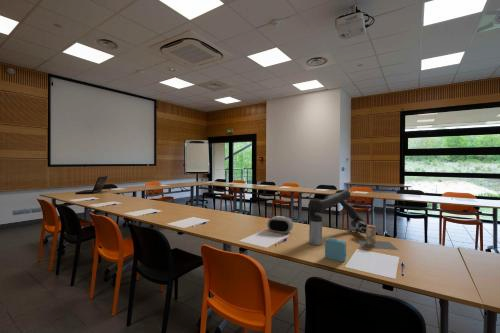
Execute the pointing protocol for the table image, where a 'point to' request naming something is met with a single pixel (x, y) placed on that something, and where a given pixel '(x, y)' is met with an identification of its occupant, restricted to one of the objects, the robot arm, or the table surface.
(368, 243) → the maple block
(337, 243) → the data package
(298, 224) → the table surface
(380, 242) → the charcoal mat
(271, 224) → the alarm clock
